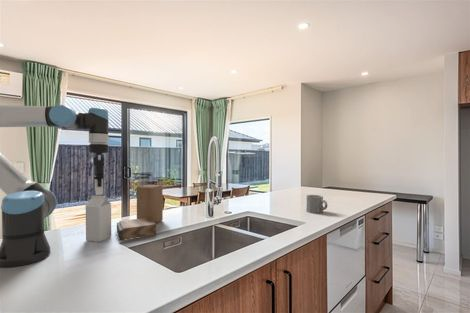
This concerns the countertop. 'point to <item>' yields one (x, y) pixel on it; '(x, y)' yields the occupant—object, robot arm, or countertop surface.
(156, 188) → the wooden block
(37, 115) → the robot arm
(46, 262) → the countertop surface
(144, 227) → the block
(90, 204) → the milk carton
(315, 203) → the coffee mug
